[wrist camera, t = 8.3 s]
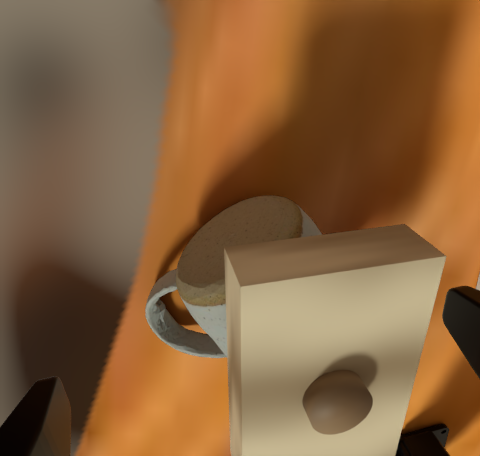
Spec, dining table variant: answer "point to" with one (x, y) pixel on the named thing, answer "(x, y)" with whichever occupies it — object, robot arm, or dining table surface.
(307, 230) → the ceramic mug
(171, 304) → the dining table surface
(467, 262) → the dining table surface
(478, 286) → the mat
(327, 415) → the lid
